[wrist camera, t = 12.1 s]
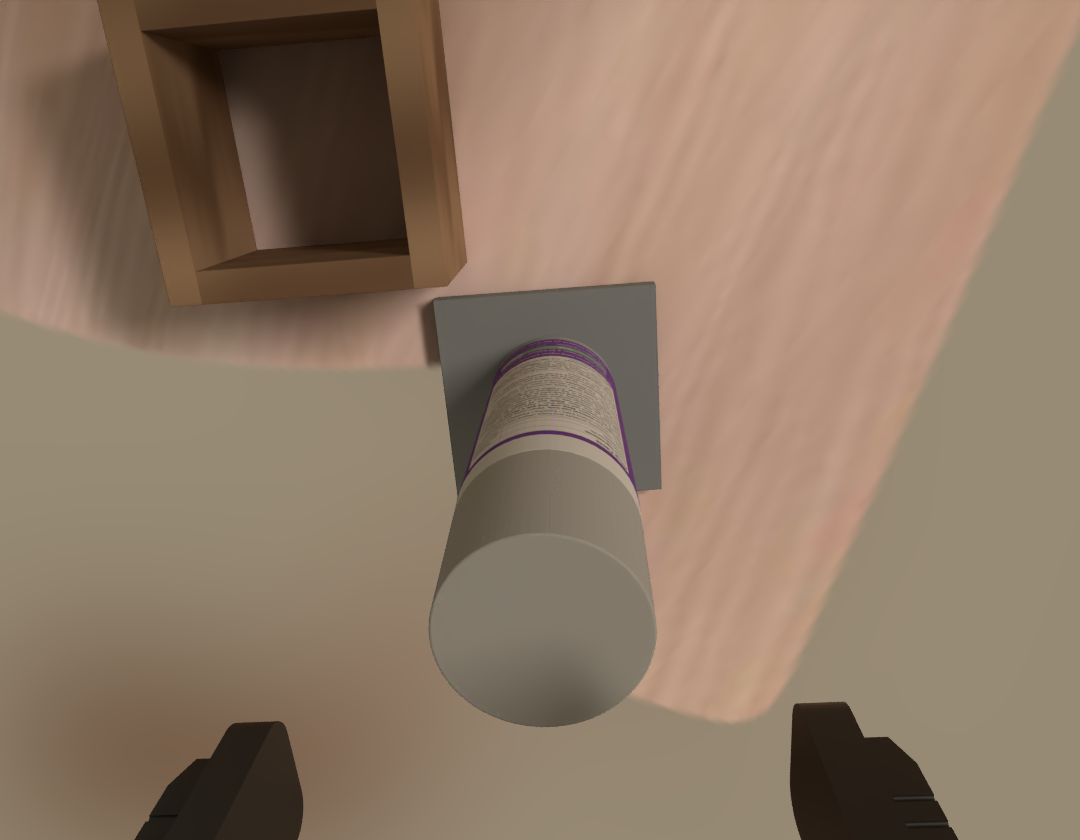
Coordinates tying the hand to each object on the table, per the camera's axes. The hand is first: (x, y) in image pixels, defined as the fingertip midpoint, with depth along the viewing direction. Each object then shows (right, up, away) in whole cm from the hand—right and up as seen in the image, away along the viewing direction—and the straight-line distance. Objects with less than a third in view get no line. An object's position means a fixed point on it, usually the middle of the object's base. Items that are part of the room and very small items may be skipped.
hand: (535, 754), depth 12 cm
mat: (+1, +6, +18) cm, 19 cm away
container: (+1, +6, +17) cm, 18 cm away
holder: (-7, +15, +15) cm, 22 cm away
